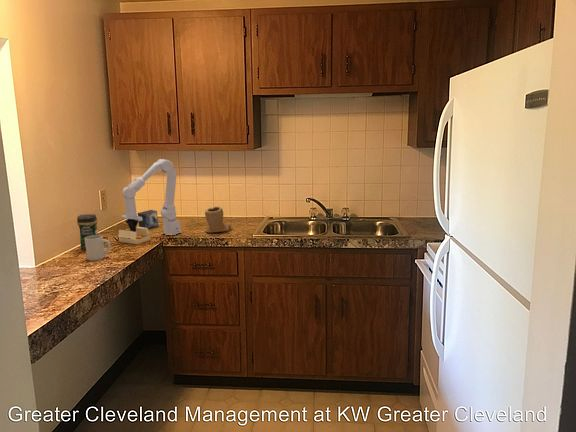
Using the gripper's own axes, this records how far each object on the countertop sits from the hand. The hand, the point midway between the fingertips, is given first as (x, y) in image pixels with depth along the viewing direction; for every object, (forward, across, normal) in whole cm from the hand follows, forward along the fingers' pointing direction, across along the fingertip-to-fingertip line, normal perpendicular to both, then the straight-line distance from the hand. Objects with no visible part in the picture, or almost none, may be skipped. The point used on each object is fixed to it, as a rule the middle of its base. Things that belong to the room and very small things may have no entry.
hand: (133, 232), depth 256 cm
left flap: (0, 0, -4) cm, 4 cm away
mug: (+6, +7, -29) cm, 30 cm away
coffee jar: (+5, -13, -19) cm, 23 cm away
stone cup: (+6, +33, +34) cm, 48 cm away
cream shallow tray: (+5, 0, 0) cm, 5 cm away
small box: (+6, -15, +25) cm, 30 cm away
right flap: (0, 0, +4) cm, 4 cm away
